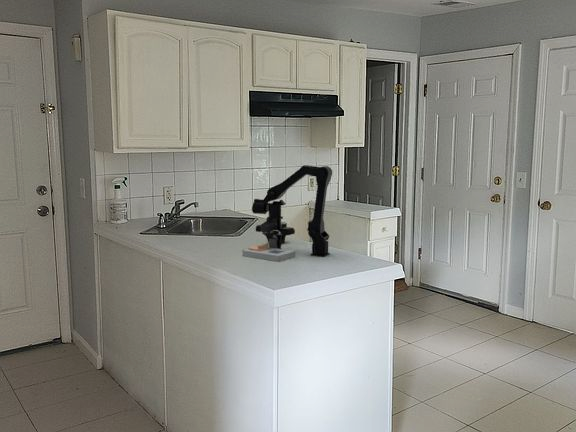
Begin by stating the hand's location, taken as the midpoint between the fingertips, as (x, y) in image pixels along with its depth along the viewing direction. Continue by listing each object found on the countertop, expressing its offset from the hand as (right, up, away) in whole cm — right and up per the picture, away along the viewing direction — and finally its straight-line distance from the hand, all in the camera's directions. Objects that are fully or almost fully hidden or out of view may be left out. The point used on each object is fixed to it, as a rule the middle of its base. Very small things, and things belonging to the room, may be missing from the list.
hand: (275, 248), depth 256 cm
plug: (0, -2, 0) cm, 2 cm away
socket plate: (-3, -3, -10) cm, 11 cm away
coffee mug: (0, +1, +20) cm, 19 cm away
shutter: (-7, 0, -7) cm, 10 cm away
